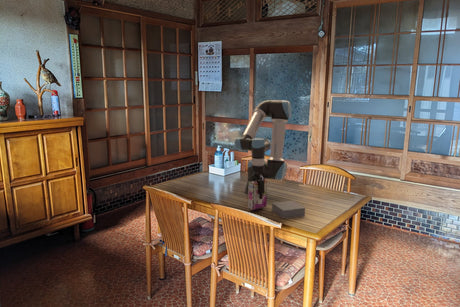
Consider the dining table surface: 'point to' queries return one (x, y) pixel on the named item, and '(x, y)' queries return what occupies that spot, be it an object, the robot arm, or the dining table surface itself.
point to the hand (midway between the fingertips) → (257, 201)
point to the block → (288, 209)
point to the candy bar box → (256, 195)
